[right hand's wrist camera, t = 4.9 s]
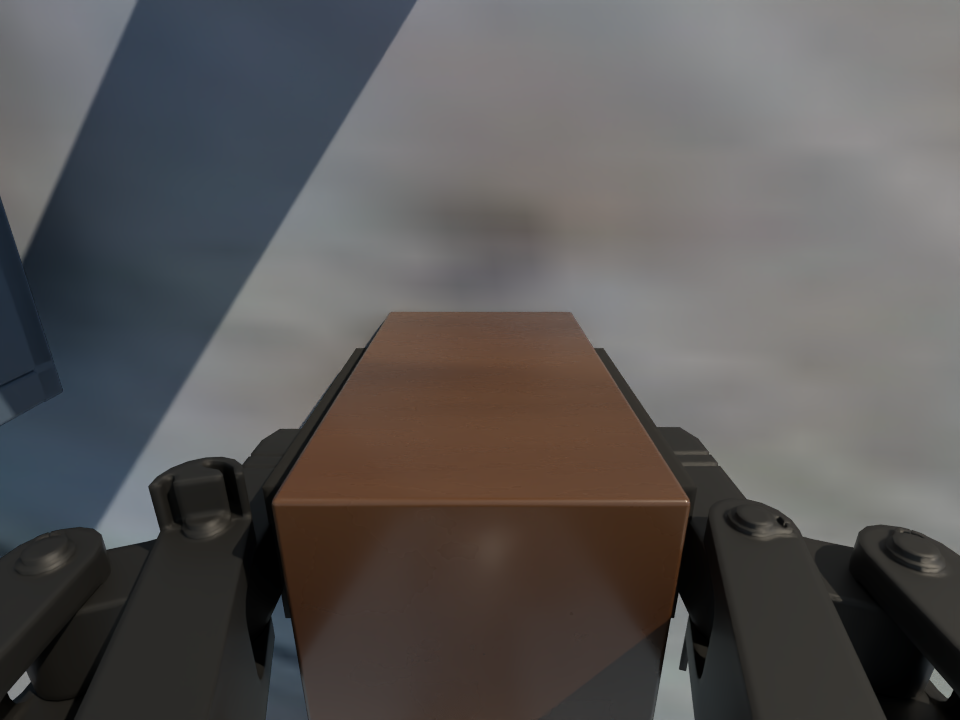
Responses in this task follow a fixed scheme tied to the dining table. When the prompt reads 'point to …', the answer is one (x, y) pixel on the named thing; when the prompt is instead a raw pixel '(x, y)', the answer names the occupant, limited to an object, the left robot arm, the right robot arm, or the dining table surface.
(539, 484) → the walnut block
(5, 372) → the tray
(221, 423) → the dining table surface
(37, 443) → the dining table surface
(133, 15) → the dining table surface
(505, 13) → the dining table surface
